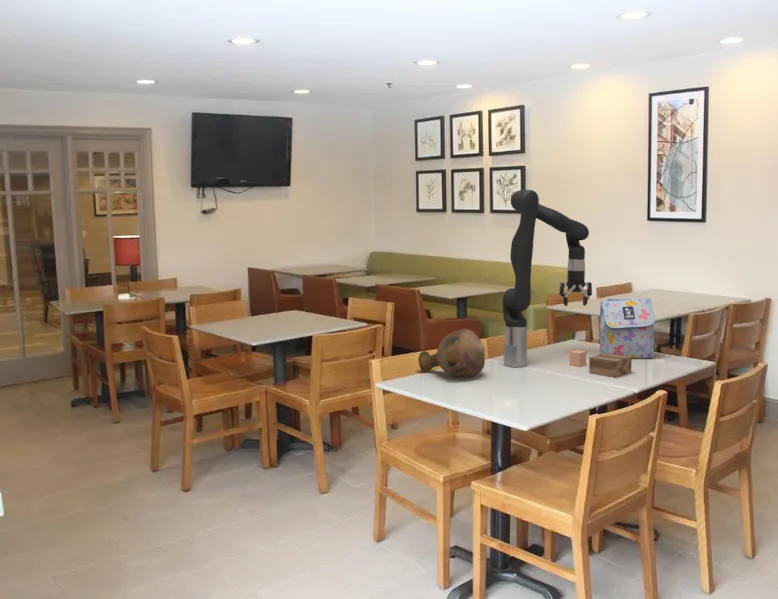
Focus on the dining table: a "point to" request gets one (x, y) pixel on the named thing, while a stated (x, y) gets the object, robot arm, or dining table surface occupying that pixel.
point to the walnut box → (610, 365)
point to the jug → (456, 355)
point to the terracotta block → (578, 358)
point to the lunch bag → (627, 327)
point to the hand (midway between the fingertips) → (575, 305)
